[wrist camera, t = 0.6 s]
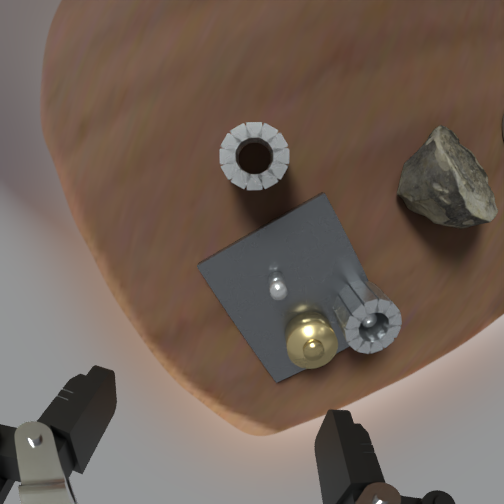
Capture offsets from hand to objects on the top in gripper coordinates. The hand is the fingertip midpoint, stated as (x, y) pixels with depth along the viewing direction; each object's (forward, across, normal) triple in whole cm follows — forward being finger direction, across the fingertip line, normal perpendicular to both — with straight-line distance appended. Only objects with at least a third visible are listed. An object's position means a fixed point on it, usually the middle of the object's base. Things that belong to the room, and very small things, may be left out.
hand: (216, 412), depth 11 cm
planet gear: (+22, +1, -9) cm, 24 cm away
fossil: (+23, -19, -12) cm, 32 cm away
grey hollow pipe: (+21, -12, +3) cm, 25 cm away
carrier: (+22, -6, +3) cm, 23 cm away
